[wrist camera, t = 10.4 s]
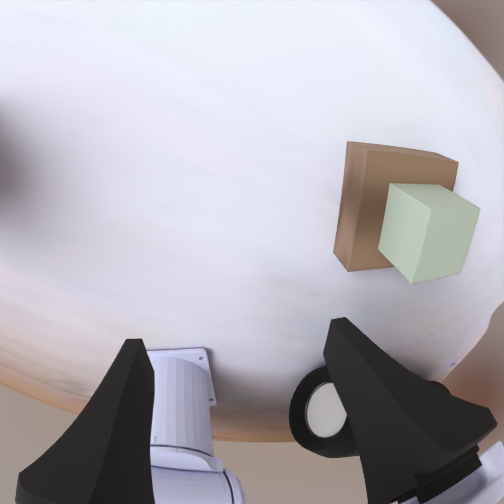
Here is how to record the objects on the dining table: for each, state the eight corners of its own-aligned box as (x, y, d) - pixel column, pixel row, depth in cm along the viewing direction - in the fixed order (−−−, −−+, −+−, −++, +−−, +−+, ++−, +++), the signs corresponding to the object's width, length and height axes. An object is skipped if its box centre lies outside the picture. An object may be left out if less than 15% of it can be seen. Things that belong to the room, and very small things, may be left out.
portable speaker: (439, 368, 35) (468, 415, 27) (395, 406, 39) (418, 453, 30) (334, 336, 26) (376, 426, 17) (274, 394, 29) (295, 474, 21)
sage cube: (426, 243, 18) (460, 273, 15) (377, 249, 18) (411, 284, 14) (439, 184, 16) (480, 208, 13) (389, 183, 16) (431, 209, 12)
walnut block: (413, 243, 22) (433, 261, 20) (331, 249, 21) (347, 271, 18) (432, 151, 18) (458, 162, 16) (344, 140, 17) (367, 149, 14)
